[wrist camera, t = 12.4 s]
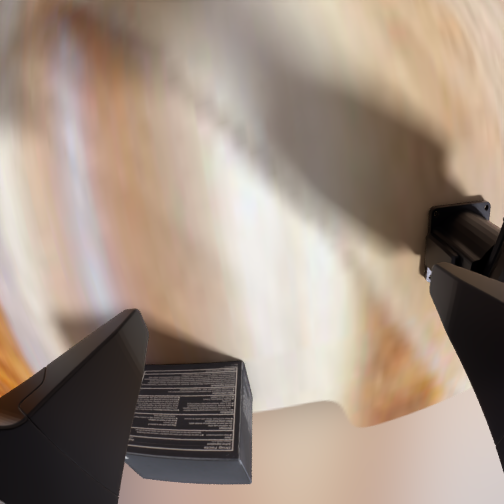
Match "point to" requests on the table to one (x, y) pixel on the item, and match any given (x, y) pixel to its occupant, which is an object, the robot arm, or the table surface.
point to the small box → (193, 424)
